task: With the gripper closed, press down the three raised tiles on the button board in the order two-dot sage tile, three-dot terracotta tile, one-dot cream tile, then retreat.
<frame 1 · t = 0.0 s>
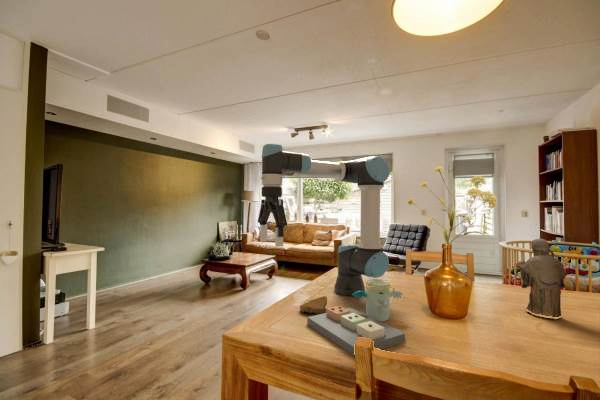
hand: (271, 243, 107), 28 cm above the table, fingers open, 13 cm apart
sculpture: (540, 314, 116), on the table
tile three: (338, 313, 104), point 4 cm above the table, slide at 0.0 cm
button board: (353, 332, 97), on the table
tile two: (353, 321, 97), point 4 cm above the table, slide at 0.0 cm
artifact: (313, 311, 116), on the table
tile one: (370, 330, 90), point 4 cm above the table, slide at 0.0 cm
character sculpture: (378, 318, 110), on the table
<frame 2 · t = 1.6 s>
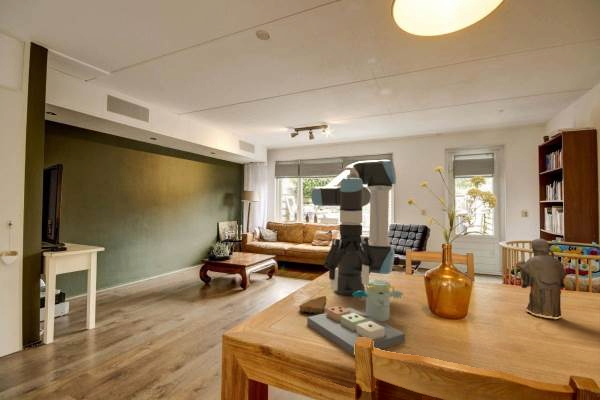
hand: (350, 286, 98), 15 cm above the table, fingers open, 13 cm apart
nothing on the table moved.
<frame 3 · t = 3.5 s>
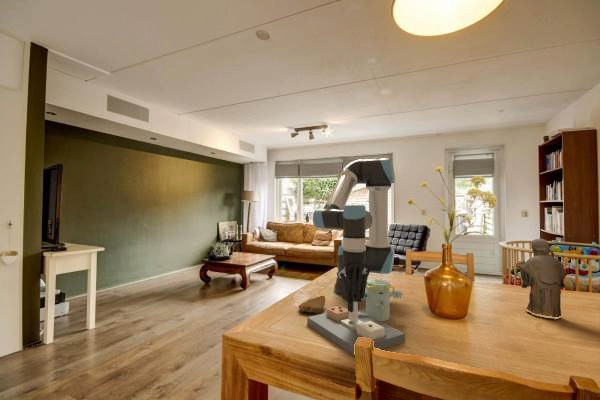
hand: (353, 320, 97), 4 cm above the table, fingers closed
tile two: (353, 326, 97), point 2 cm above the table, slide at 1.6 cm, touching gripper
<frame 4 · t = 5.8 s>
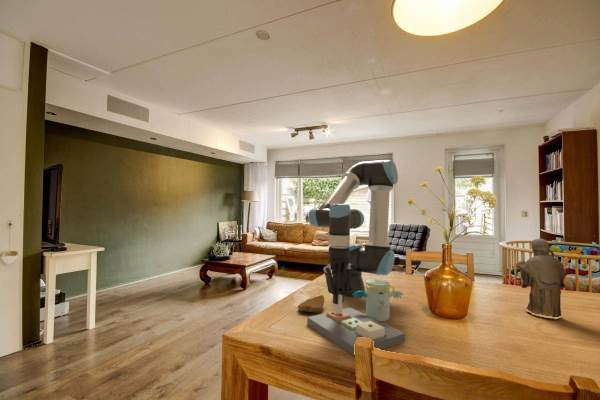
hand: (338, 312, 104), 4 cm above the table, fingers closed
tile three: (338, 317, 104), point 2 cm above the table, slide at 1.5 cm, touching gripper
tile two: (353, 326, 97), point 2 cm above the table, slide at 1.7 cm
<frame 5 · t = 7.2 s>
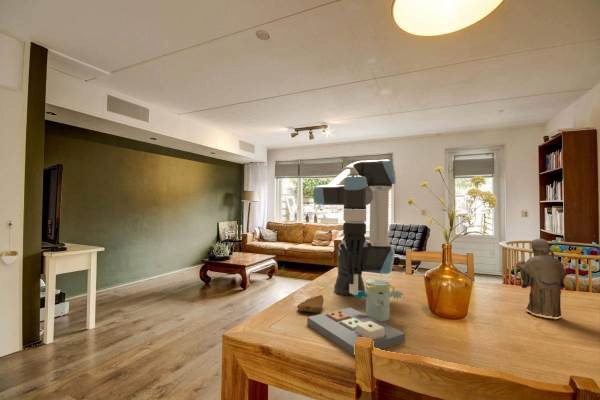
hand: (353, 293, 96), 13 cm above the table, fingers closed
tile three: (338, 318, 104), point 2 cm above the table, slide at 1.7 cm
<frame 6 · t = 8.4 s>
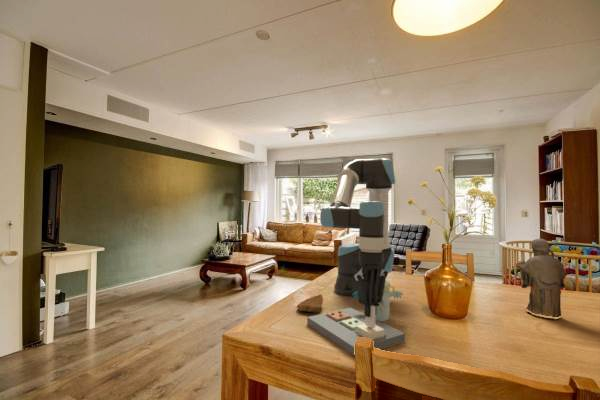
hand: (370, 326, 90), 5 cm above the table, fingers closed
tile one: (370, 332, 90), point 3 cm above the table, slide at 0.5 cm, touching gripper
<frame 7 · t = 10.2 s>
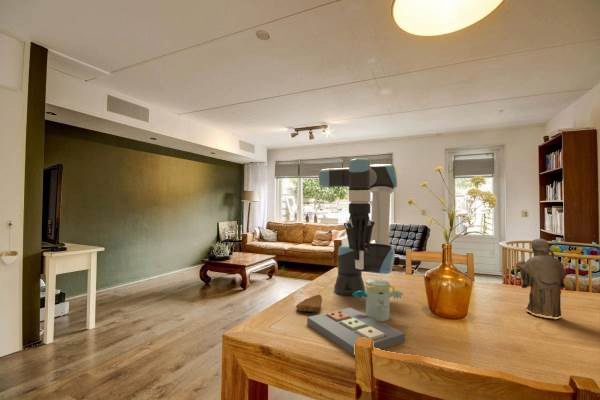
hand: (359, 268, 103), 20 cm above the table, fingers closed
tile one: (370, 335, 90), point 2 cm above the table, slide at 1.7 cm
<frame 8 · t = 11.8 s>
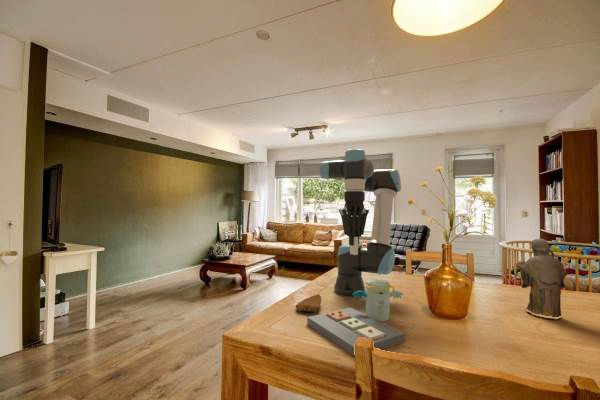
hand: (353, 254, 108), 24 cm above the table, fingers closed
at the end: tile two slide at 1.7 cm; tile three slide at 1.7 cm; tile one slide at 1.7 cm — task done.
